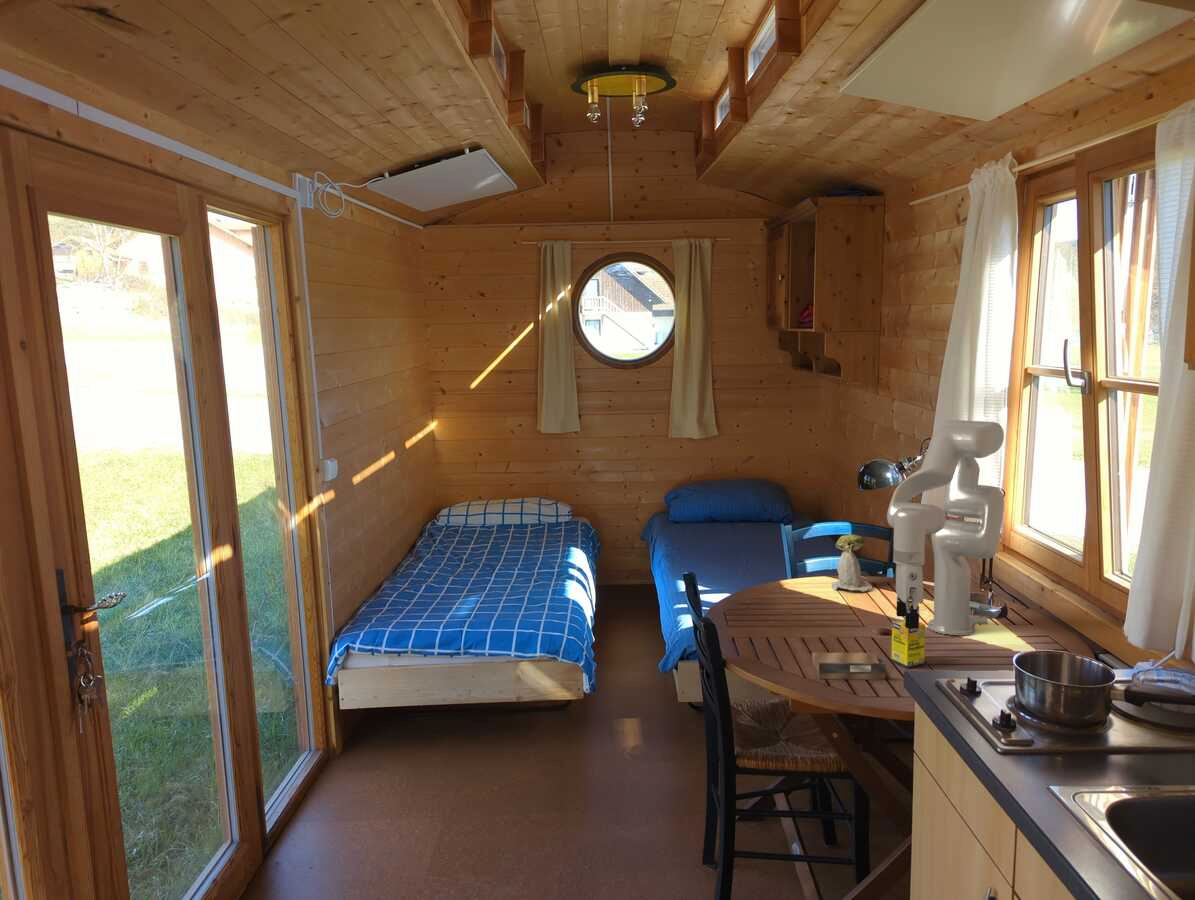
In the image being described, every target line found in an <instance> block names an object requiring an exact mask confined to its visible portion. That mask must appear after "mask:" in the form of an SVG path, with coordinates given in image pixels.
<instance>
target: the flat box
mask: <svg viewBox="0 0 1195 900" xmlns="http://www.w3.org/2000/svg"><path fill="white" fill-rule="evenodd" d="M811 659H812V662H813V664H814V668H815V670H816V671H815V672H816V673H817V678H818V679H819V680H877V681H878V680H879V681H880V680H881V681H883V680H885V681H886V663H885V662H880V661H879V660H878V657H877V656H876V654H875V652H812V653H811Z"/></svg>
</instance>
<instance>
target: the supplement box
mask: <svg viewBox="0 0 1195 900" xmlns="http://www.w3.org/2000/svg"><path fill="white" fill-rule="evenodd" d="M925 640H926V624H925V623H923V622H920V621H919V628H906V627H905V618H904V619H900V620H894V621H892V622H891V662H892V663H895V664H897V665H899V666H901V667H903V668H905V669H910V668H913V667H918V666H923V665H925V653H926V651H925V650H926V649H925V648H926V641H925Z"/></svg>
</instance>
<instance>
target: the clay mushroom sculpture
mask: <svg viewBox="0 0 1195 900" xmlns="http://www.w3.org/2000/svg"><path fill="white" fill-rule="evenodd" d="M865 543H866V541H865V539H864V537H862V536H861V535H857V534H853V533H852V534H850V533H849V534H847V535H846V534H845V535H841V536H840V537H839V538H838V540H837V541H836V543H835V548H836V549H839V550H841V551H842V552H841V555H840V558H839V559H838V562H837V563H836V565H837V570H836V571H837V573H838V579H837V581H832V583H831V588H832V590H837V589H843V590H844V589H845V590H849V591H851V592H855V591H860V592H862V593H864V592H868V591H870V592H871V591H872V590H873V585H872V584H871V583H869V581H865V580H861V578H862V573H861V566H860V563H859V561H858V560H859V559H858V558H857V557H856V554H855V553H854V551H857V550H859V549H861V547H862V546H863V545H865Z"/></svg>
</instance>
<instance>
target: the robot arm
mask: <svg viewBox="0 0 1195 900" xmlns="http://www.w3.org/2000/svg"><path fill="white" fill-rule="evenodd" d="M1004 432H1005V431H1004V429H1003V427H1002V426H1001V424H999V422H995V421H982V420H964V419H963V420H962V419H960V420H959V419H957V420H954V419H953V420H947V421H944V422H942V423H940V425H939V426H938V428H936V429H935V431H934V432H933V433H932V436H931V439H930V442H929V444H928V447H927V450H926V453H925V456H924V458H923V461H922V464H921V467H920V468H919V469H918V470H916V471H915V472H913V473H912V474H910V475H909V476H908V477H906V478H905V479H904V480H902V481H901V482H900V483H899V484H898V485H897V487H896V488H895V490H894V491H893V495H892V496H891V499H890V503H889V505H888V509H887V514H886V519H887V520H886V521H887V523H888V525H889V526H890V527H891V528H893V558H892V560H893V561H892V562H893V563H894V564H896V571H895V593H896V595H897V596H896V615H895V616H897V617H903V618H904V619H905V627H906V628H919V622H920V606H919V604H921V605H922V604H923V603H924V576H923V575H924V574H923V565H925V559H926V557H925V556H926V555H925V553H926V548H925V547H926V535H931V542H932V543H931V544H932V549H933V558H934V559H933V561H934V576H933V577H934V579H933V580H934V583H933V585H934V586H933V587H934V589H933V619H930V620H929V621H928V622H927V627H929V628H928V629H931V631H932V630H933V631H932V632H934V631H935V632H934V633H936V632H938V634H940V633H942V634H941V635H944V634H950V635H949V636H951V635H964V636H967V635H966V634H970V633H972V634H974V633H975V632H976V625H988V624H989V623H988V621H989V619H988V617H986V616H985V617H984V616H982V617H981V615H975V614H974V615H973V614H971V613H970V612H971V578H972V577H971V574H972V573H971V568H970V565H969V563H968V561H967V560H966V558H965V557H969V558H976V559H986V560H988V559H992V558H994V557H995V556H996V554H997V552H998V549H999V545H1000V538H1001V533H1002V524H1003V516H1004V511H1005V499H1004V494H1003V492H1002V490H1001V489H1000V488H998V487H996V486H993V485H984V484H979V478H980V472H981V471H980V470H981V469H980V468H981V467H980V465H979V463H978V461H977V460H976V459H983V458H987V457H989V456H990V455H993V454H995V453H997V452H998V451H999V450H1000V449H1001V447H1002V446H1003V444H1004V443H1003V442H1004V439H1005V433H1004ZM941 487H944V492H943V497H942V498H943V499H942V508H941V506H940V507H939V506H938V505H934V504H925V503H919V502H909V501H910V500H912V499H913V498H915V496H917V495H919V494H923V493H924V492H928V491H931V490H935V489H938V488H941ZM946 514H948V515H950V516H954V517H960V518H966V519H967V518H969V519H979V520H981V523H980V522H969V521H963V520H953V519H947V517H946ZM974 631H975V632H974ZM973 632H974V633H973ZM970 635H971V634H970Z"/></svg>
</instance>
